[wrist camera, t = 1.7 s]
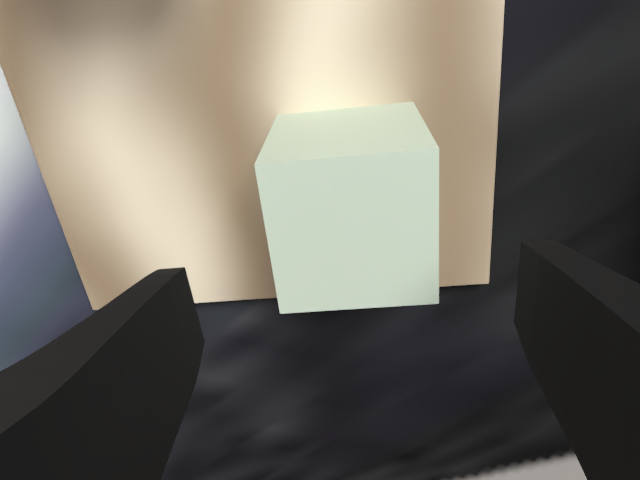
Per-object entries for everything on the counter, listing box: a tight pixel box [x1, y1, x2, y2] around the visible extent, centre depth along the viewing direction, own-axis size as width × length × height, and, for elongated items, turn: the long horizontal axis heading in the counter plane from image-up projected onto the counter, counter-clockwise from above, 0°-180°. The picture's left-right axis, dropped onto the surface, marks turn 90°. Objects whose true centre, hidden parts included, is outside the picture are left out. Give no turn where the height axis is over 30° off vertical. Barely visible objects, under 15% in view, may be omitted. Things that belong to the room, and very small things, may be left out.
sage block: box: [254, 102, 439, 314], centre depth 16 cm, size 4×4×5 cm
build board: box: [0, 0, 505, 310], centre depth 16 cm, size 16×20×1 cm
